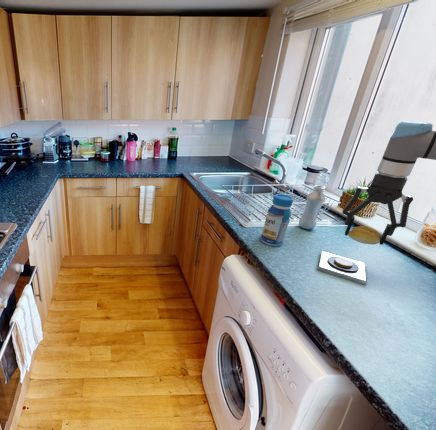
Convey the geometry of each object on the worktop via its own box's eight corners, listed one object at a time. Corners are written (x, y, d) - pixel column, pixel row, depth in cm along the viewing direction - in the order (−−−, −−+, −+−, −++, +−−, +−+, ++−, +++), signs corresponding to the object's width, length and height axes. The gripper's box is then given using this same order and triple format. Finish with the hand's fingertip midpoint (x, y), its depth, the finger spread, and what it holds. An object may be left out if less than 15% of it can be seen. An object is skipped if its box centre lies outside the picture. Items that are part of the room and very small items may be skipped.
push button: (363, 266, 104) (366, 260, 103) (364, 284, 94) (367, 277, 93) (320, 254, 111) (323, 247, 110) (317, 269, 101) (320, 263, 100)
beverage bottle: (285, 247, 115) (300, 201, 107) (263, 245, 116) (276, 199, 108) (278, 237, 123) (291, 193, 114) (257, 235, 124) (268, 192, 115)
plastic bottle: (300, 223, 136) (313, 183, 127) (316, 228, 131) (331, 187, 122) (294, 227, 132) (308, 186, 123) (311, 232, 127) (326, 190, 119)
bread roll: (344, 238, 98) (348, 227, 96) (353, 231, 103) (357, 221, 101) (374, 248, 92) (379, 237, 90) (382, 240, 97) (387, 230, 95)
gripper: (438, 178, 84) (404, 244, 94) (349, 165, 96) (326, 225, 106) (443, 185, 79) (406, 254, 89) (348, 170, 91) (324, 232, 101)
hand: (363, 238), depth 97 cm, fingers closed on bread roll, 9 cm apart
